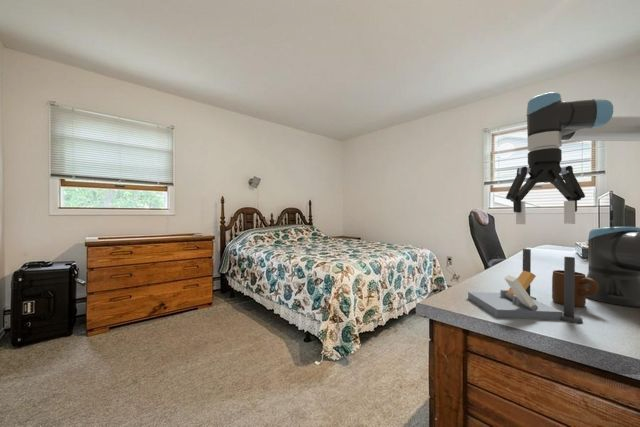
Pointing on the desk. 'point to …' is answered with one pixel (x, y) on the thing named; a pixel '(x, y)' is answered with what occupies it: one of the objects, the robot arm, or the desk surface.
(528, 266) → the post
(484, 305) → the panel
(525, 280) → the paddle
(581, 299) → the mug
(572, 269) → the post
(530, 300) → the paddle
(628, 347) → the desk surface
